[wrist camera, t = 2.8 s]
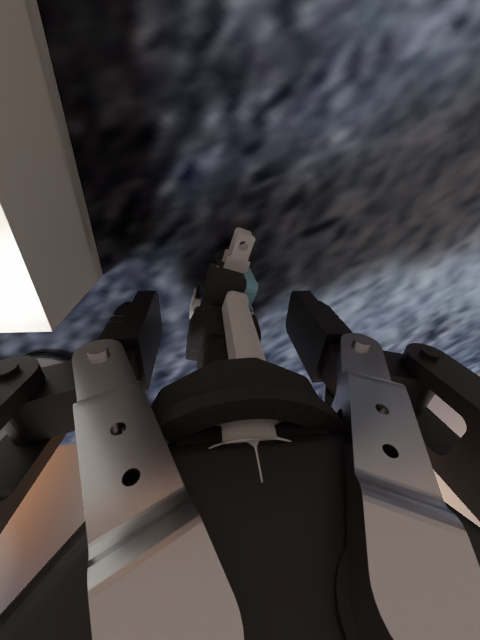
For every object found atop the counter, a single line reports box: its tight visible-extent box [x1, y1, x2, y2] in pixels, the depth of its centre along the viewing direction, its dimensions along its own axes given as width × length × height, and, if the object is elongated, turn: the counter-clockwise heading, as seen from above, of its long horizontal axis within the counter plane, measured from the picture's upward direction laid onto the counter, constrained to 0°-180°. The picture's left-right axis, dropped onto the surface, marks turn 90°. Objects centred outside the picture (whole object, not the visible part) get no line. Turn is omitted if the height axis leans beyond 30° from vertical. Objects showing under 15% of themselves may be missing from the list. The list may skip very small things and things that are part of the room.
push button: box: [151, 227, 344, 482], centre depth 9 cm, size 7×5×10 cm
